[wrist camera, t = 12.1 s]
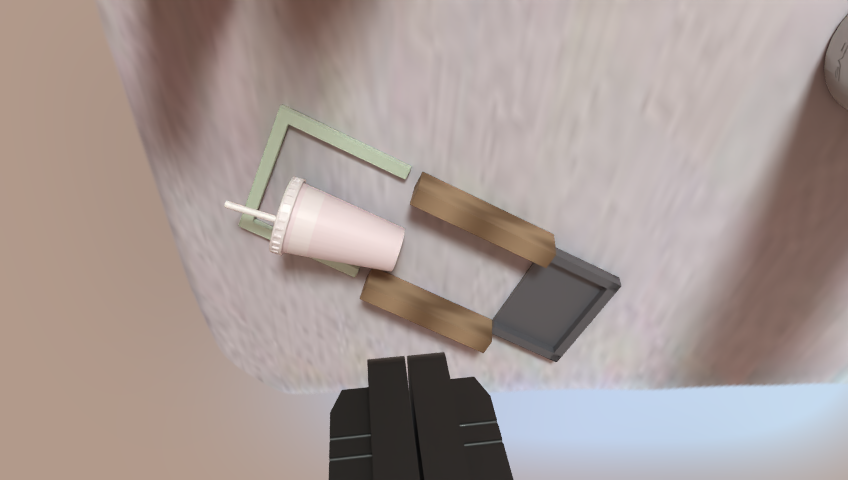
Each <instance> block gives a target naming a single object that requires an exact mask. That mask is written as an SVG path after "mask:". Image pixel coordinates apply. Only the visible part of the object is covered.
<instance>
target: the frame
mask: <svg viewBox="0 0 848 480" xmlns="http://www.w3.org/2000/svg"><path fill="white" fill-rule="evenodd" d="M289 125H291V126H293V127H295V128H297V129H300V130H302V131H304V132H306V133H308V134H310V135H312V136H314V137H316V138H319V139H321V140H323V141H325V142H327V143H329V144H331V145H333V146H335V147H337V148H340V149H342V150H344V151H346V152H348V153H350V154H352V155H354V156H356V157H359V158H361V159H363V160H365V161H367V162H369V163H371V164H373V165H375V166H377V167H380V168H382V169H384V170H386V171H388V172H390V173H392V174H394V175H396V176H399V177H401V178H403V179H406V177H407V175H408V173H409V171H410V169H411V166H410V165H408V164H406V163H403V162H401V161H399V160H397V159H395V158H393V157H391V156H389V155H387V154H385V153H383V152H380V151H378V150H376V149H374V148H372V147H370V146H368V145H366V144H364V143H362V142H360V141H358V140H355V139H353V138H351V137H349V136H347V135H345V134H343V133H341V132H339V131H337V130H335V129H332V128H330V127H328V126H326V125H324V124H322V123H320V122H318V121H316V120H314V119H312V118H309V117H307V116H305V115H303V114H301V113H299V112H297V111H295V110H293V109H291V108H289V107H287V106H284V105H281V106H280V108H279V110H278V113H277V116H276V119H275V122H274V125H273V128H272V131H271V133H270V136H269V139H268V142H267V145H266V148H265V151H264V153H263V156H262V159H261V162H260V165H259V168H258V171H257V174H256V176H255V179H254V182H253V185H252V188H251V191H250V194H249V197H248V199H247V202H246V205H245V206H246V207H249V208H252V209H255V210H258V208H259V206H260V203H261V200H262V197H263V195H264V192H265V189H266V186H267V184H268V181H269V178H270V175H271V173H272V170H273V167H274V164H275V162H276V159H277V156H278V153H279V151H280V148H281V145H282V142H283V140H284V137H285V134H286V131H287V129H288V126H289ZM238 226H239V227H242V228H244V229H246V230H248V231H251V232H253V233H255V234H257V235H260V236H262V237H264V238H266V239H269V240H270V239H271V234H272V230H273V227H272V226H270V225H268V224H266V223H263V222H261V221H259V220H257V219H255V217H254V216H251V215H248V214H245V213H243V214H242V217H241V220H240V222H239V225H238ZM309 258H311V257H309ZM311 259H314V260H316V261H318V262H320V263H323V264H325V265H327V266H330V267H332V268H334V269H336V270H339V271H341V272H343V273H345V274H348V275H350V276H352V277H354V278H355V277H356V275H357V273H358V271H359V268H360V266H357V265H351V264H345V263H340V262H334V261H328V260H323V259H317V258H311Z"/></svg>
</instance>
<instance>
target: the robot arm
mask: <svg viewBox="0 0 848 480" xmlns="http://www.w3.org/2000/svg"><path fill="white" fill-rule="evenodd" d="M824 73H825V82H826V84H827V87H828V89H829V92H830V94H831V95H832V96H833V98H834V99H835V100H836V101H837V103H839V104H840V105H841V106H843V107H844V108H845V109H847V110H848V15H847V16H846V17H845V19H844V20H843V21H842V22H841V23H840V25H839V27H838V28H837V30H836V32H835V34H834V35H833V37H832V39H831V41H830V44H829V47H828V50H827V52H826V58H825V64H824ZM367 362H368V384H369V387H367V388H357V389H347V390H342V391H341V393H340V395H339V397H338V399H337V401H336V403H335V405H334V407H333V408H332V410H331V412H330V450H329V452H330V453H329V458H330V463H329V480H513V477H512V473H511V470H510V466H509V462H508V459H507V455H506V452H505V448H504V444H503V443H502V437H501V433H500V430H499V426H498V424H497V419H496V415H495V412H494V408H493V404H492V400H491V397H490V395H489V394H488V393H487V391H486V390H485V389H484V388H483V387H482V386H481V384H480V383H479V382H478V381H477V380H476V379H475V377H467V378H457V379H450V375H449V371H448V366H447V361H446V356H445V353H444V352H442V353H431V354H421V355H411V356H407V364H408V380H407V372H406V364H405V357H404V356H399V357H389V358H379V359H368V360H367ZM408 382H409V388H408Z"/></svg>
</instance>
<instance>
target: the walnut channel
mask: <svg viewBox="0 0 848 480" xmlns="http://www.w3.org/2000/svg"><path fill="white" fill-rule="evenodd" d="M410 205H412V206H414V207H417V208H419V209H421V210H423V211H425V212H427V213H429V214H432V215H434V216H436V217H438V218H440V219H442V220H444V221H446V222H449V223H451V224H453V225H455V226H457V227H459V228H461V229H464V230H466V231H468V232H470V233H472V234H474V235H476V236H478V237H481V238H483V239H485V240H487V241H489V242H491V243H493V244H495V245H498V246H500V247H502V248H504V249H506V250H508V251H510V252H513V253H515V254H517V255H519V256H521V257H523V258H525V259H527V260H530V261H532V262H534V263H536V264H538V265H540V266H542V267H545V268H547V267H548V265H549V264H550V262H551V261H552V260H553V258H554V257H555V256H556V248H555V240H554V234H552V233H550V232H547V231H545V230H543V229H541V228H539V227H537V226H535V225H533V224H531V223H529V222H527V221H524V220H522V219H520V218H518V217H516V216H514V215H512V214H510V213H508V212H506V211H504V210H501V209H499V208H497V207H495V206H493V205H491V204H489V203H487V202H485V201H483V200H481V199H479V198H476V197H474V196H472V195H470V194H468V193H466V192H464V191H462V190H460V189H458V188H456V187H453V186H451V185H449V184H447V183H445V182H443V181H441V180H439V179H437V178H435V177H433V176H431V175H428V174H426V173H424V172H422V174H421V176H420V178H419V180H418V182H417V183H416V185H415V188H414V191H413V195H412V199H411V202H410ZM360 299H361V300H364V301H366V302H368V303H370V304H373V305H375V306H377V307H379V308H382V309H384V310H386V311H389V312H391V313H393V314H395V315H398V316H400V317H402V318H405V319H407V320H409V321H411V322H414V323H416V324H418V325H420V326H423V327H425V328H427V329H430V330H432V331H434V332H436V333H439V334H441V335H443V336H446V337H448V338H450V339H452V340H455V341H457V342H459V343H461V344H464V345H466V346H468V347H471V348H473V349H475V350H477V351H480V352H482V353H484V352H485V350H486V349H487V348H488V346H489V345H490V344H491V342H492V320H491V319H489V318H486V317H484V316H482V315H480V314H478V313H475V312H473V311H471V310H469V309H466V308H464V307H462V306H460V305H458V304H455V303H453V302H451V301H449V300H446V299H444V298H442V297H440V296H437V295H435V294H433V293H431V292H429V291H426V290H424V289H422V288H420V287H417V286H415V285H413V284H411V283H409V282H406V281H404V280H402V279H400V278H397V277H395V276H393V275H391V274H388V273H386V272H384V271H382V270H379V269H373V268H372V269H371V271H370V273H369V274H368V276H367V278H366V281H365V284H364V287H363V290H362V293H361V296H360Z"/></svg>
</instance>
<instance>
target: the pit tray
mask: <svg viewBox="0 0 848 480" xmlns="http://www.w3.org/2000/svg"><path fill="white" fill-rule="evenodd" d="M555 248H556V247H555ZM620 287H621V283H620V279H619V277H617V276H614V275H612V274H610V273H608V272H606V271H604V270H602V269H600V268H598V267H596V266H593V265H591V264H589V263H587V262H585V261H583V260H581V259H579V258H577V257H575V256H572V255H570V254H568V253H566V252H564V251H562V250H560V249H558V248H556V256H555V257H554V258H553V260H552V261H551V262H550V264H549V265H548V267H547V268H545V267H542V266H540V265H538V264H536V263H533V264H532V265H531V267H530V268H529V270H528V271H527V272H526V274H525V275H524V277H523V278H522V279H521V281H520V282H519V284H518V285H517V286H516V288H515V289H514V291H513V292H512V293H511V295H510V296H509V297H508V299H507V300H506V302H505V303H504V304H503V306H502V307H501V309H500V310H499V311H498V313H497V314H496V316H495V317H494V318H493V320H492V334H494V335H496V336H499V337H501V338H503V339H505V340H508V341H510V342H512V343H514V344H517V345H519V346H521V347H523V348H526V349H528V350H530V351H532V352H535V353H537V354H539V355H541V356H544V357H546V358H548V359H550V360H552V361H555V362H557V361H558V360H559V359H560V358H561V357H562V356H563V354H564V353H565V352H566V351H567V350H568V348H569V347H570V346H571V345H572V344H573V343H574V341H575V340H576V339H577V338H578V337H579V335H580V334H581V333H582V332H583V331H584V330H585V328H586V327H587V326H588V325H589V324H590V323H591V321H592V320H593V319H594V318H595V317H596V315H597V314H598V313H599V312H600V311H601V310H602V308H603V307H604V306H605V305H606V304H607V302H608V301H609V300H610V299H611V298H612V297H613V295H614V294H615V293H616V292H617V291H618V289H619V288H620Z"/></svg>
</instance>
